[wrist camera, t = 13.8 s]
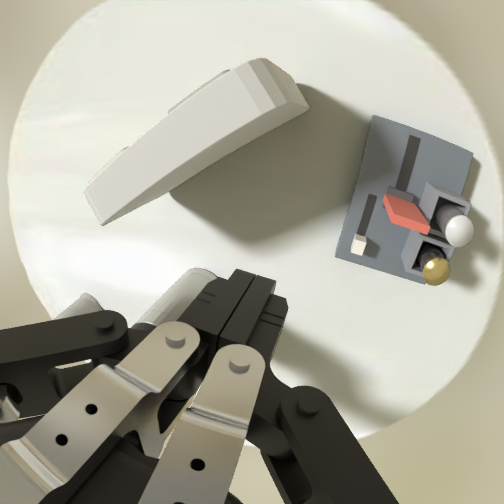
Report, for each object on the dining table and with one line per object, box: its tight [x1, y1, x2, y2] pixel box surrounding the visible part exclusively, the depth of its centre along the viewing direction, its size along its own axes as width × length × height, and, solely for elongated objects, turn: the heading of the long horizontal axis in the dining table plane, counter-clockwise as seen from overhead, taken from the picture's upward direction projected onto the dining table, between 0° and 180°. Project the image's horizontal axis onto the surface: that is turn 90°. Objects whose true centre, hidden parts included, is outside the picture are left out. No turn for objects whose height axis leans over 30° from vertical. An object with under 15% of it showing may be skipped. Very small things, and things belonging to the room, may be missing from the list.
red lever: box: [383, 186, 430, 235], centre depth 33 cm, size 3×4×10 cm
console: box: [335, 115, 473, 285], centre depth 37 cm, size 21×15×8 cm
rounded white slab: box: [83, 58, 310, 226], centre depth 37 cm, size 29×8×18 cm, turn 120°
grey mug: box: [54, 293, 102, 320], centre depth 68 cm, size 9×14×15 cm, turn 176°
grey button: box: [436, 204, 474, 248], centre depth 29 cm, size 4×4×5 cm
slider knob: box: [351, 234, 366, 256], centre depth 41 cm, size 2×2×2 cm
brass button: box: [417, 243, 450, 285], centre depth 34 cm, size 4×4×5 cm
